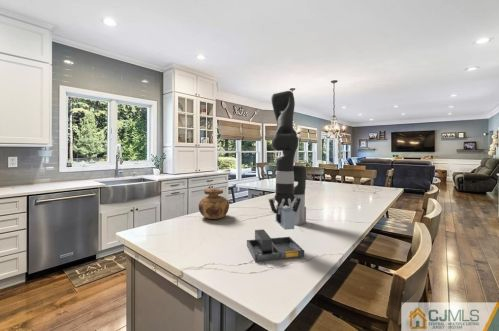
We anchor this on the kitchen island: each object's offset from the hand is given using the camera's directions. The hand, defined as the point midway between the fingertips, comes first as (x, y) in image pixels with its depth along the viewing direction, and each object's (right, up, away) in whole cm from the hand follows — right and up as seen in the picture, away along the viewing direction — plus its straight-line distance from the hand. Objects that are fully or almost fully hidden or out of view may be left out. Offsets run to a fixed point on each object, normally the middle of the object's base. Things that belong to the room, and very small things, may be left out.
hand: (284, 222), depth 103 cm
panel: (0, -1, 0) cm, 1 cm away
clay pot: (-37, -9, +51) cm, 64 cm away
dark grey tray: (-4, -12, 0) cm, 13 cm away
